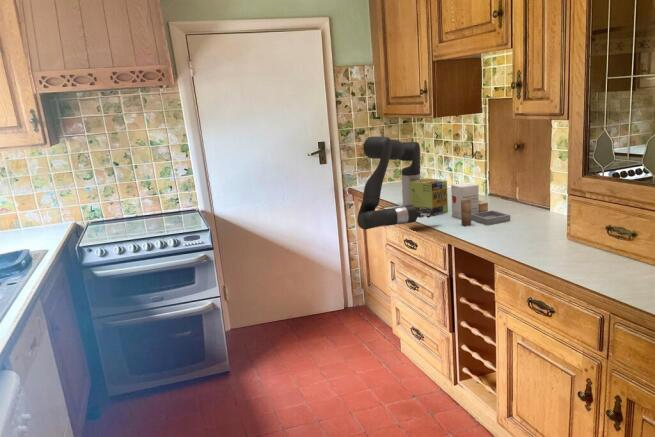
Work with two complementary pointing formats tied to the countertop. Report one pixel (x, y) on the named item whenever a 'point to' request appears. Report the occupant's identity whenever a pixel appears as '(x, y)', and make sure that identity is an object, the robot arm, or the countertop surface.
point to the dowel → (466, 212)
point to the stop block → (483, 206)
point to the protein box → (429, 194)
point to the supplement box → (464, 197)
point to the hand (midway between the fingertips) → (439, 209)
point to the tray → (490, 217)
